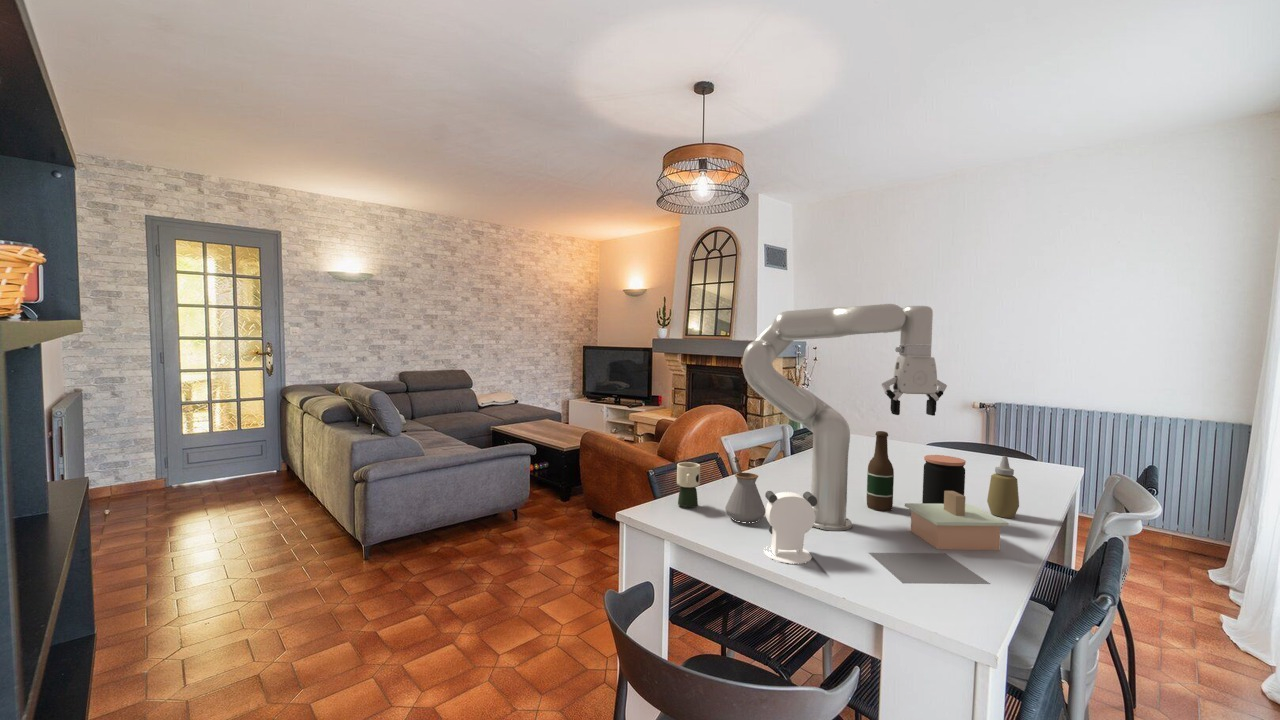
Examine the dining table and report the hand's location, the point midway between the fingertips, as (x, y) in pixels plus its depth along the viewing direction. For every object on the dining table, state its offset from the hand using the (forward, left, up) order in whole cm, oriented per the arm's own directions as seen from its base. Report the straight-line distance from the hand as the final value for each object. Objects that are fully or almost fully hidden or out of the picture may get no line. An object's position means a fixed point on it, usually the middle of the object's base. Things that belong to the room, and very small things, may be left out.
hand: (913, 414), depth 143 cm
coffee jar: (+16, +11, -32) cm, 38 cm away
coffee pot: (-43, +14, -32) cm, 56 cm away
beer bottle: (+2, +21, -32) cm, 39 cm away
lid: (+8, -7, -25) cm, 27 cm away
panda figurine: (-38, -16, -32) cm, 52 cm away
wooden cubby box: (+8, -7, -32) cm, 34 cm away
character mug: (-58, +20, -32) cm, 70 cm away
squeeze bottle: (+37, +15, -32) cm, 51 cm away
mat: (-9, -24, -32) cm, 41 cm away
